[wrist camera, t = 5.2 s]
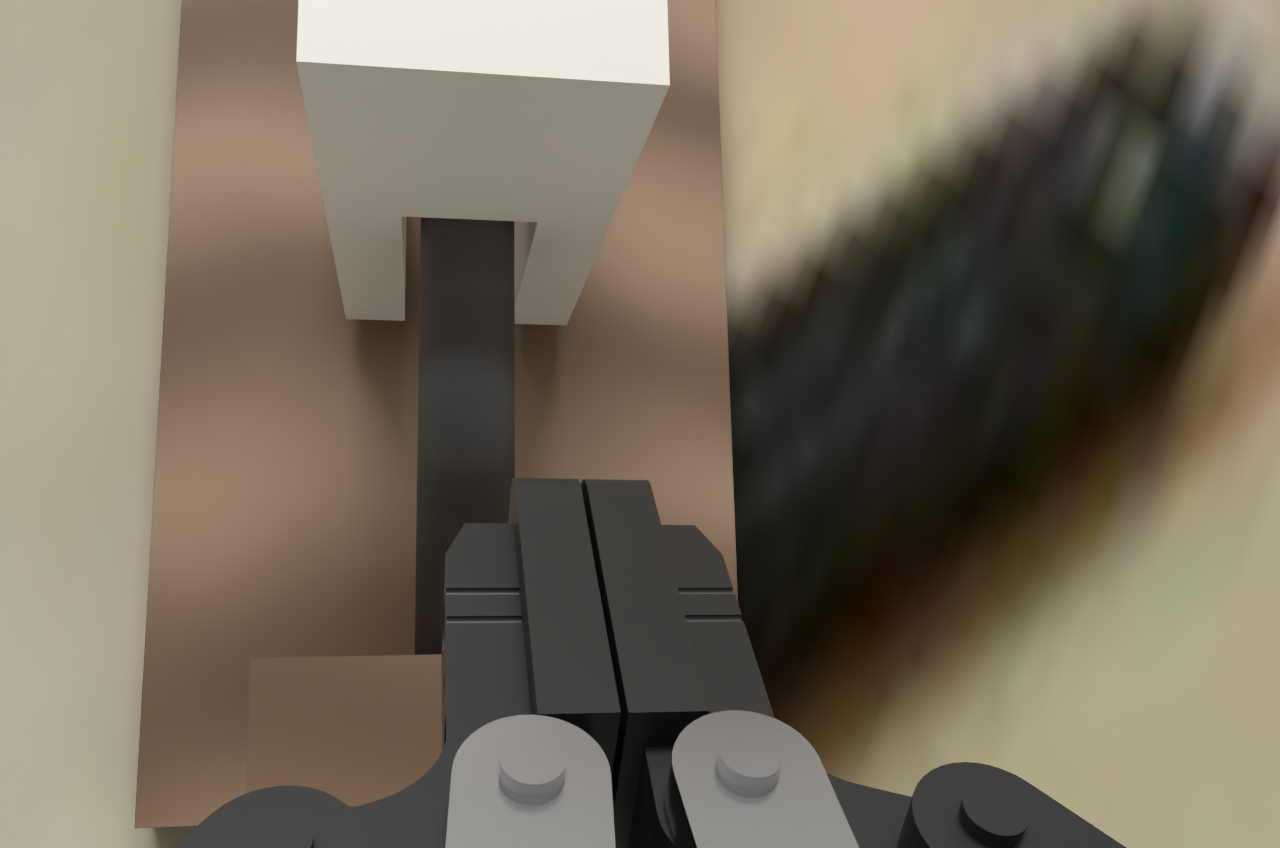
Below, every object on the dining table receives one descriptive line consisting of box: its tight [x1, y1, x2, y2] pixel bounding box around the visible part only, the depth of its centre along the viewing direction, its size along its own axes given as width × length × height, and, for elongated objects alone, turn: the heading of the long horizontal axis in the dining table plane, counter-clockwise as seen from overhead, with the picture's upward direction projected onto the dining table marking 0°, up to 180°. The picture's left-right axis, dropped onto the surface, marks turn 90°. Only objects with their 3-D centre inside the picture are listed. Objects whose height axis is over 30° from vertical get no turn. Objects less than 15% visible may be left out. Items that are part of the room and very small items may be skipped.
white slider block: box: [296, 0, 670, 325], centre depth 21 cm, size 4×5×11 cm
